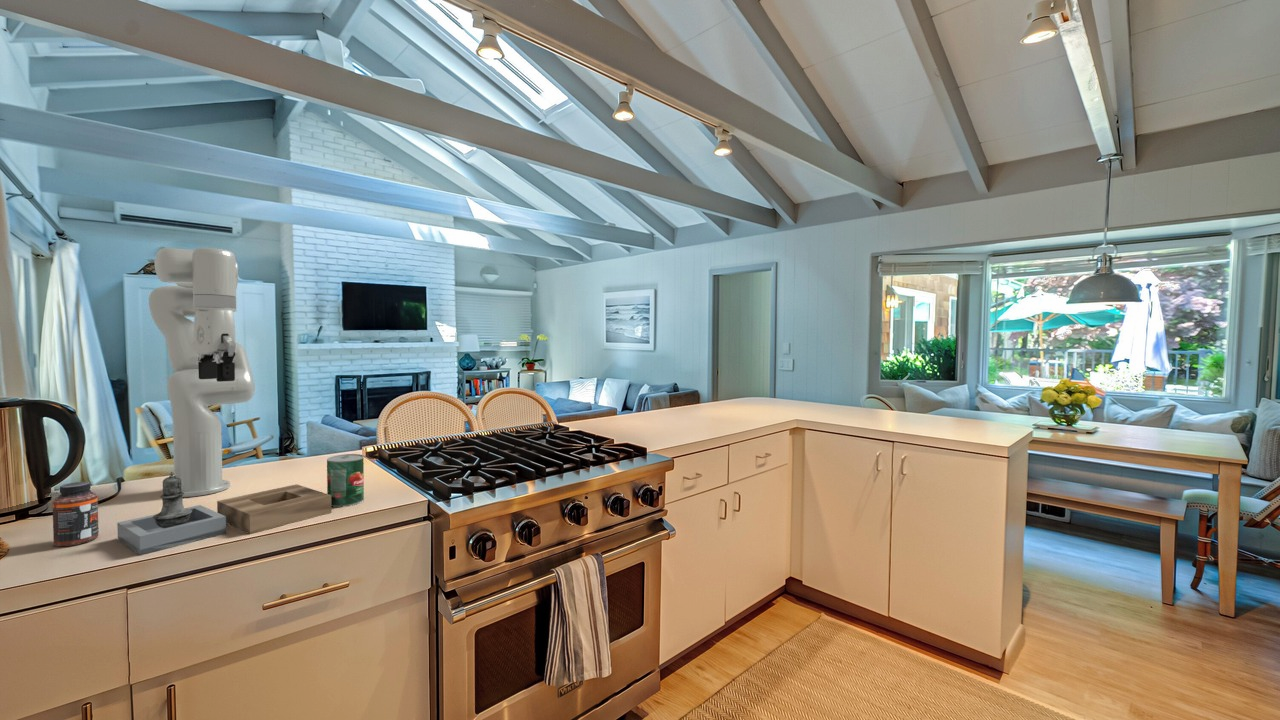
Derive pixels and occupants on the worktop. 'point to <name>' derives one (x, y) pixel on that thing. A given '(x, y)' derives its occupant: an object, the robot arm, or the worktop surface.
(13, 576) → the worktop surface
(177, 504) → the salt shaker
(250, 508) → the socket block
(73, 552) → the worktop surface
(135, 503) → the worktop surface
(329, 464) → the canned tomato
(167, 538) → the tray
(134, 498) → the worktop surface
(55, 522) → the supplement bottle
